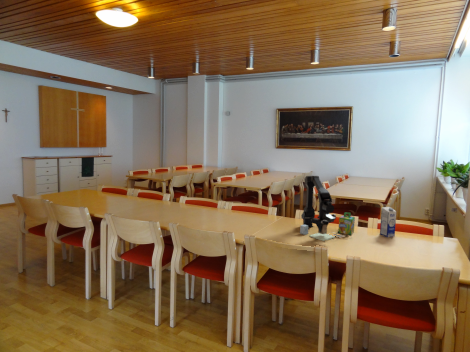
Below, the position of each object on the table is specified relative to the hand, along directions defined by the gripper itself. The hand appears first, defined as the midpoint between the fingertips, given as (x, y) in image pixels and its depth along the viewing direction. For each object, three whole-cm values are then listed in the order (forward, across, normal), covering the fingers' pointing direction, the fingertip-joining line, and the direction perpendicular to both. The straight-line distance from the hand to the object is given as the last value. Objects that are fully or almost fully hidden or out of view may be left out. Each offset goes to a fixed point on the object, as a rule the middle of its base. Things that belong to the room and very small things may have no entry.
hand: (322, 231), depth 227 cm
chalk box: (+4, +23, -3) cm, 23 cm away
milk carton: (+4, +41, -24) cm, 48 cm away
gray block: (+4, -4, +13) cm, 14 cm away
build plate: (+4, 0, 0) cm, 4 cm away
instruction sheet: (+4, +12, -3) cm, 13 cm away
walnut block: (+1, 0, 0) cm, 1 cm away
